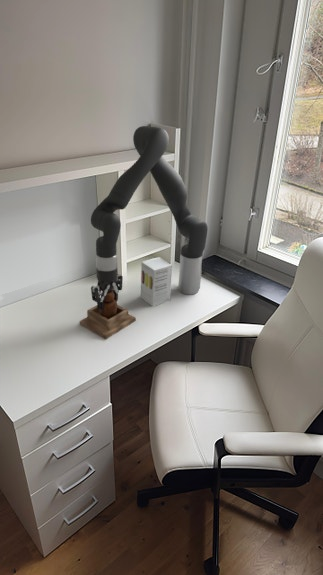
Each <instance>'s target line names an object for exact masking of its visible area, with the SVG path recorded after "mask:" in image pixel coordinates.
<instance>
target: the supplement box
mask: <svg viewBox="0 0 323 575" xmlns="http://www.w3.org/2000/svg"><path fill="white" fill-rule="evenodd" d="M140 267H141V271H140V298H142V299H143V300H144V301H146V302H147V303H148V304H149V305H150V306H152V307H154V306H157V305H160V304H164V303H166V302H168V301H171V291H172V289H171V288H172V276H173V275H172V274H173V264H171V263H169V262H168V261H166V260H165V259H163V258H162V257H160V256H158V257H157V256H156V257H155V258H154V257H153V258H150V259H146V260H143V261H141V266H140Z"/></svg>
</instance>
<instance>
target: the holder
mask: <svg viewBox="0 0 323 575" xmlns="http://www.w3.org/2000/svg"><path fill="white" fill-rule="evenodd" d="M86 313H87V316H86V317H84V318H83V319H81V320H79V325H81V326H82V327H84V328H85V329H87V330H89V331H90V332H92V333H95V334H96V335H98V336H100V337H101V338H103V339H105V340H107V339H109V338H111V337H112V336H114V335H115V334H117V333H119V332H120V331H122V330H123V329H125V328H126V327H128V326H129V325H131V324H133V323H135V322H136V321H137V317H136V316H134V315H132V314H130V313H129V310H128V309H126V308H124V307H122V306H120V305H118V304H117V312H116V315H115V316H114V317H112V318H110V319H107V318H105V317H103V316H101V315H100V311H99V309H98V308H97V304H96V305H95V306H93V307H91V308H89V309H87V310H86Z"/></svg>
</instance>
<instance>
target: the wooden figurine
mask: <svg viewBox="0 0 323 575" xmlns="http://www.w3.org/2000/svg"><path fill="white" fill-rule="evenodd" d="M101 292H102V293H104V292H103V291H101ZM114 297H115V295H114V292H113V291H112V290H110V291H108V292H107V294H106V296H105V297H104V299H103V306H104V309H103V310H100V309H99V311H100V315H101V316H103V317H105V318H107V319H110V318H112V317H114V316H115V315H116V312H117V305H118V301H117V302H116V300H114Z"/></svg>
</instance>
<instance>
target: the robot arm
mask: <svg viewBox="0 0 323 575" xmlns="http://www.w3.org/2000/svg"><path fill="white" fill-rule="evenodd" d="M169 137H170V136H169V133H168V132H167V131H166V130H165V129H164V128H161V127H158V126H150V125H142V126H139V127H137V128H136V129H135V130H134V133H133V140H132V141H133V142H132V143H133V146H134V148H135V150H136V151H137V153H138V155H139V157H138V159H137V160H136V161H135V162H134V163H133V164H132V165H131V166H130V167H129V168H128V169H127V170H126V171H124V172H123V173H122V174H121V175H120V176H119V177H118V179H116V181H115V183H114V185H113V186H112V188H111V189H110V191H109V193H108V195H107V196H106V197H105V198H104V199H103V200H102V201H101V202H100V203H99V204H98V205H97V206H96V207H95V208H94V209H93V212H91V217H90V224H91V226H92V227H93V228H95V229H96V230H99V232H100V231H101V232H102V234H103V235H102V236H99V237H98V238H96V241H95V254H96V256H95V257H96V258H95V270H96V271H95V272H96V273H95V274H96V279H97V283H96V285H92V286H90V291H91V300H92V301H93V302H95V303H96V305H97V308H98V309H100V310H103V309H104V306H103V299H104V297H105V296H106V294H107V292H108V291H110V290H112V291H113V292H114V295H115V297H114V300H116V302H117V303H118V300H119V292H120V291H122V290H123V280H124V279H123V278H124V277H123V275H121V274H118V256H117V255H118V254H117V253H118V251H117V242H118V240H119V235H120V232H121V226H122V223H121V222H122V221H121V219H120V217H119V216H118V214H116V213H115V211H118V210H119V211H120V210H124V209H126V207H127V206H128V204H129V202H130V201H131V199H132V198H133V195H134V194H135V192H136V191H137V189H138V187H139V186H140V185H141V183H142V182H143V180H144V179H145V177H146V176H147V175H148V174H149V173H150V174H151V176H152V178H153V180H154V182H155V184H156V185H157V187H158V189H159V191H160V193H161V195H162V197H163V199H164V201H165V202H166V205H167V207H168V208H169V211H170V212H171V214H172V217H173V218H174V221H175V224H176V227H177V229H178V232H179V233H180V235H182V236H183V237H184V238H186V239H188V243H187V244H184V245H182V246H181V247H180V248H181V249H180V257H179V274H178V283H177V284H178V286H177V288H178V292H180V293H182V294H185V295H195V294H197V293H198V292H199V291H200V288H201V280H202V270H203V269H202V265H203V264H202V263H203V253H204V251H205V249H206V244H207V237H208V225H207V222H206V221H205V220H203V219H201V218H199V217H198V216H197V217H196V216H195V215H194V214H192V212H191V211H190V208H189V206H188V203H187V202H188V190H187V187H186V184H185V183H184V181H183V178H182V176H181V175H180V173H179V172H178V171H177V170H176V169H175V168H174V167H173V166H172V164H170V163H169V162H168V161H167V160H166V158H165V157H164V156H163V155H164V154H165V152H166V151H167V149H168V148H169V142H170V138H169ZM102 291H103V292H104V293H102Z"/></svg>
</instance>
